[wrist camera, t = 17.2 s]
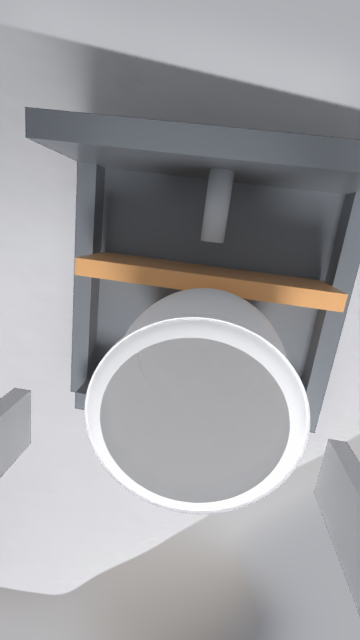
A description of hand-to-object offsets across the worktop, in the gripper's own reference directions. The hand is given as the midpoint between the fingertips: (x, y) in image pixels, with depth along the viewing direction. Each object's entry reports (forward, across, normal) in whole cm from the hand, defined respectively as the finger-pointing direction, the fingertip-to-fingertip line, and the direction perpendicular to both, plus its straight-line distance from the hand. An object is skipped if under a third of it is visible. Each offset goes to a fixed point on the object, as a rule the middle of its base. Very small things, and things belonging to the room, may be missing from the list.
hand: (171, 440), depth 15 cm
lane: (+17, 0, -4) cm, 17 cm away
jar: (+16, -1, 0) cm, 16 cm away
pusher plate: (+16, 0, -6) cm, 17 cm away
